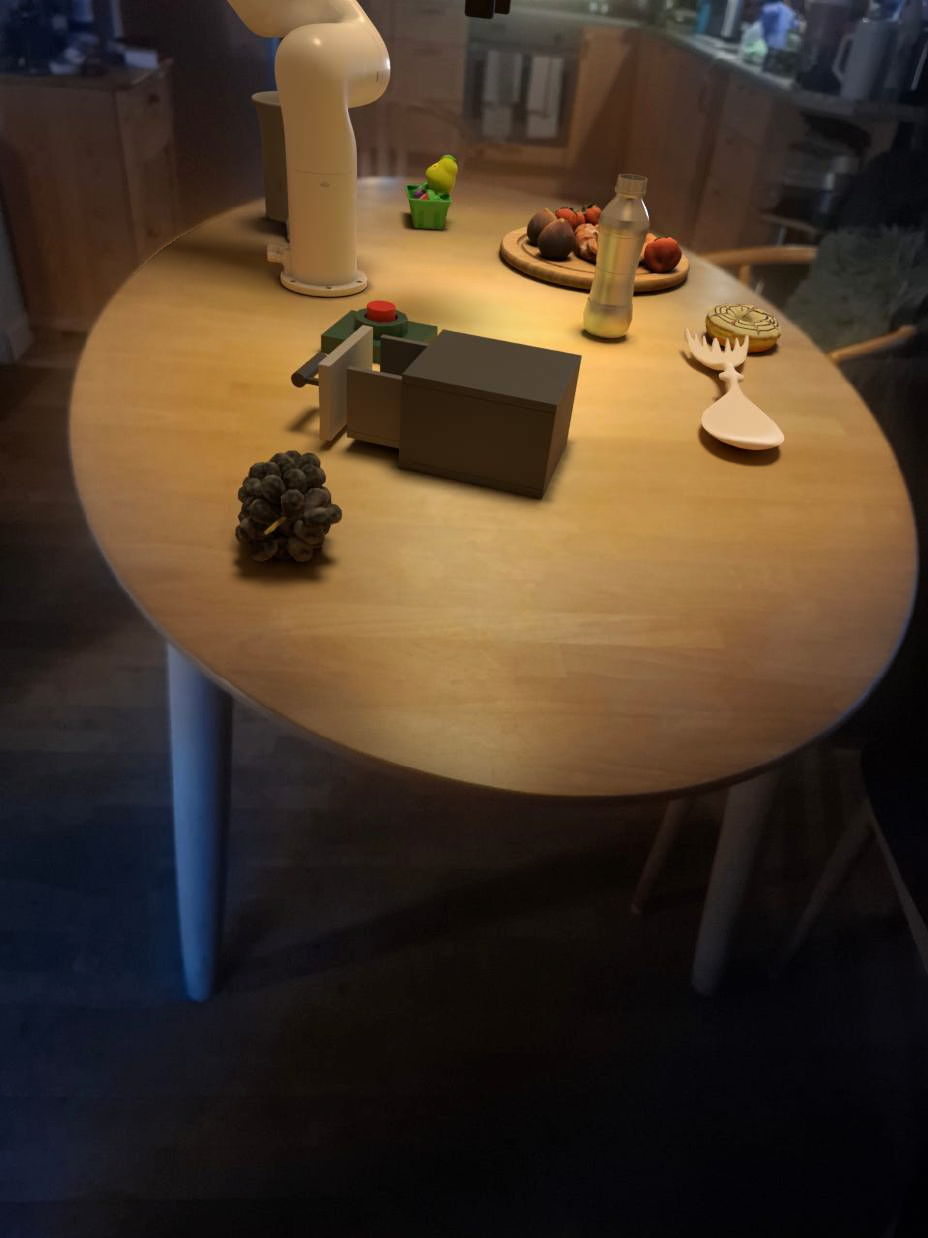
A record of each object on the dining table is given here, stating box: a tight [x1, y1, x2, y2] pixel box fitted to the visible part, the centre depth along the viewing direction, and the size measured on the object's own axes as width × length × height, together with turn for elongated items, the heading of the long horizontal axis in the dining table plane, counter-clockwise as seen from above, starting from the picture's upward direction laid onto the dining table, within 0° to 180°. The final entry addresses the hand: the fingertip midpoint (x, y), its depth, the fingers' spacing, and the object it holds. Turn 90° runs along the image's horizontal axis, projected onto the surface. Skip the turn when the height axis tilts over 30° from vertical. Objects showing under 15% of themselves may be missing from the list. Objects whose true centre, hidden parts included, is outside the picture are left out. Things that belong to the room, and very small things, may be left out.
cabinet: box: [397, 329, 583, 500], centre depth 86 cm, size 15×13×10 cm
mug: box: [250, 90, 290, 243], centre depth 141 cm, size 19×15×25 cm
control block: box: [320, 307, 439, 365], centre depth 108 cm, size 12×10×4 cm
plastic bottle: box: [582, 173, 651, 339], centre depth 113 cm, size 6×7×20 cm
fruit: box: [234, 449, 343, 563], centre depth 73 cm, size 9×8×15 cm
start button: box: [366, 300, 397, 322], centre depth 107 cm, size 4×4×2 cm
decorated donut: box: [704, 303, 783, 354], centre depth 121 cm, size 10×11×4 cm
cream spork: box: [683, 327, 785, 451], centre depth 104 cm, size 9×32×4 cm, turn 174°
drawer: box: [290, 325, 430, 449], centre depth 88 cm, size 18×12×8 cm, turn 74°
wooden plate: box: [499, 203, 691, 293], centre depth 143 cm, size 32×32×8 cm
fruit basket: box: [405, 154, 459, 230], centre depth 154 cm, size 11×9×11 cm
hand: (487, 14), depth 98 cm, fingers open, 9 cm apart
